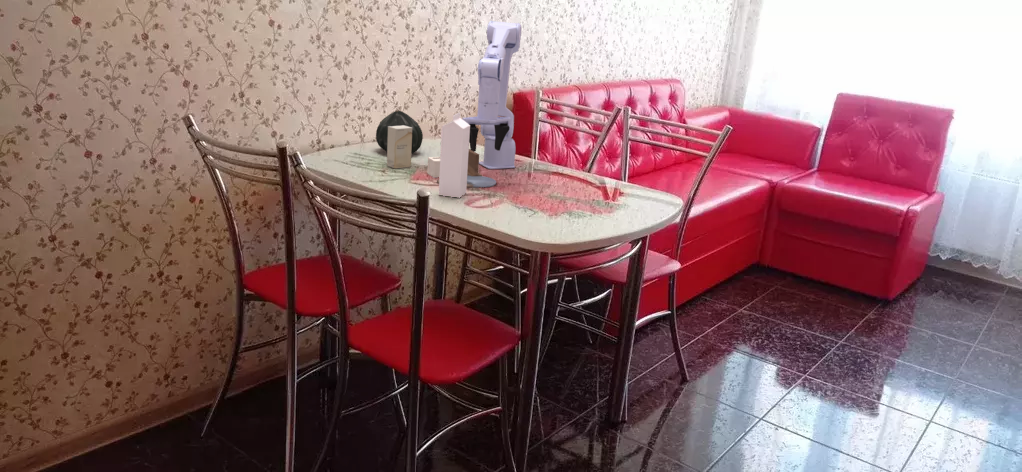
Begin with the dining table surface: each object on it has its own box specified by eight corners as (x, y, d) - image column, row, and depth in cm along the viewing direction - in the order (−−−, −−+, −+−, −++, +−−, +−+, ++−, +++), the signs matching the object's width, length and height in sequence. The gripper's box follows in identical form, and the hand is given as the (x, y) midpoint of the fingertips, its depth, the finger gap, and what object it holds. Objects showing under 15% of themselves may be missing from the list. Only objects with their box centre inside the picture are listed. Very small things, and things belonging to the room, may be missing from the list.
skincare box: (394, 169, 223) (395, 129, 219) (386, 165, 225) (387, 126, 222) (411, 166, 227) (413, 127, 223) (403, 163, 230) (404, 124, 226)
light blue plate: (486, 176, 222) (486, 174, 222) (502, 186, 213) (502, 184, 213) (452, 178, 217) (452, 176, 217) (467, 188, 208) (467, 186, 208)
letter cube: (442, 172, 223) (443, 156, 221) (449, 177, 219) (450, 160, 217) (427, 173, 221) (428, 156, 219) (433, 178, 217) (434, 160, 215)
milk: (438, 195, 199) (441, 114, 192) (445, 190, 205) (448, 110, 198) (460, 198, 198) (463, 116, 191) (466, 193, 204) (470, 113, 196)
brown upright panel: (464, 167, 231) (465, 145, 229) (482, 177, 221) (483, 154, 218) (453, 167, 230) (455, 145, 228) (471, 178, 219) (472, 155, 217)
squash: (411, 129, 253) (388, 98, 242) (437, 140, 243) (414, 108, 232) (383, 159, 249) (358, 129, 239) (409, 171, 239) (384, 140, 229)
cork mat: (460, 179, 216) (460, 177, 216) (475, 186, 211) (475, 184, 210) (436, 182, 212) (436, 180, 212) (452, 189, 206) (452, 187, 206)
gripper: (470, 104, 200) (467, 154, 204) (518, 104, 206) (514, 152, 211) (460, 100, 206) (457, 148, 210) (506, 100, 212) (503, 147, 217)
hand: (485, 150), depth 211 cm, fingers open, 7 cm apart
